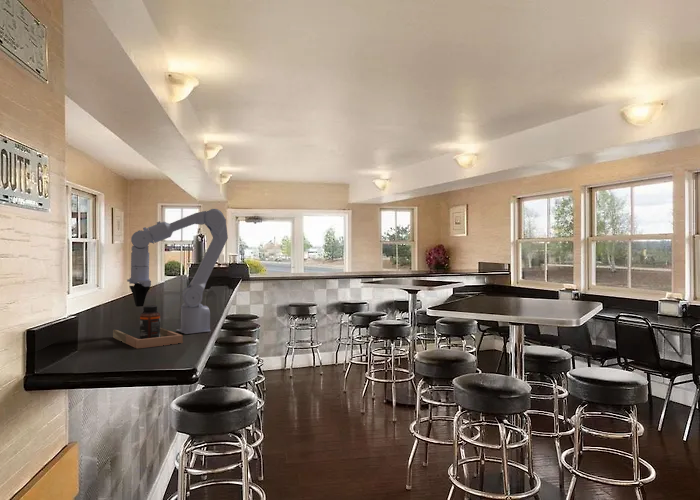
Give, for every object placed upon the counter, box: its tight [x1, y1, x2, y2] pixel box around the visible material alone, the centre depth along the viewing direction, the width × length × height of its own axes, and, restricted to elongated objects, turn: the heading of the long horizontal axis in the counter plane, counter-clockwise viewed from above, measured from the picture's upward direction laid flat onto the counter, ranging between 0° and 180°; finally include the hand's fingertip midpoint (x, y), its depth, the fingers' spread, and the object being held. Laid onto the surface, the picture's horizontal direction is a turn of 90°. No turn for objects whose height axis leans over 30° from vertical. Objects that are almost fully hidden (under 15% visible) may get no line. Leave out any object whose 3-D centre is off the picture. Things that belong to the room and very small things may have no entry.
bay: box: [112, 327, 184, 350], centre depth 164 cm, size 14×22×2 cm, turn 42°
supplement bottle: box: [139, 305, 161, 339], centre depth 162 cm, size 6×6×11 cm
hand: (139, 306), depth 174 cm, fingers closed
